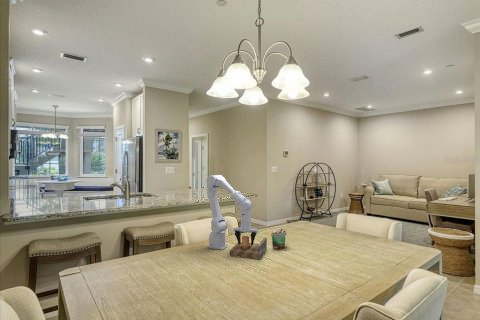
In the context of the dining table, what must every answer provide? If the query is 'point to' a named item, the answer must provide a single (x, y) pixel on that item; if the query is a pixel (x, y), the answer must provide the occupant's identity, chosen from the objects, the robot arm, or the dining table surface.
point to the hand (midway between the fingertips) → (245, 244)
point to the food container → (279, 239)
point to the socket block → (250, 250)
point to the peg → (245, 242)
